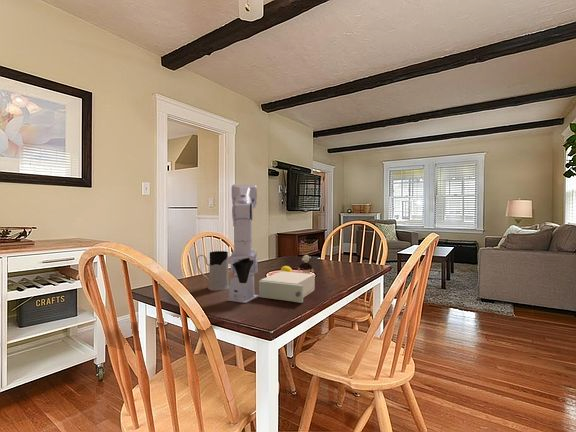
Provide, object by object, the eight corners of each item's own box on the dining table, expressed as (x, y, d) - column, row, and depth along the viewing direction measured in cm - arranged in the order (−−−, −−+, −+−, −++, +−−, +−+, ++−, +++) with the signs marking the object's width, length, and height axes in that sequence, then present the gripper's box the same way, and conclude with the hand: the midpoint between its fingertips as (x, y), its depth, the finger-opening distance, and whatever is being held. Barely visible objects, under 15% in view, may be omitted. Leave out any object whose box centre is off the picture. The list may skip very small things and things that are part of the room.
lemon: (294, 277, 155) (295, 267, 154) (286, 279, 151) (287, 268, 150) (284, 273, 160) (285, 263, 159) (276, 275, 156) (277, 264, 155)
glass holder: (225, 290, 129) (225, 254, 129) (192, 289, 131) (191, 253, 131) (232, 285, 138) (232, 251, 137) (201, 284, 140) (201, 250, 139)
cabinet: (296, 301, 114) (296, 283, 113) (260, 296, 120) (260, 279, 120) (314, 290, 130) (314, 274, 130) (281, 286, 136) (281, 271, 136)
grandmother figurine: (315, 283, 142) (315, 254, 142) (313, 285, 138) (313, 255, 138) (298, 282, 144) (298, 254, 144) (296, 284, 140) (296, 255, 140)
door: (300, 303, 110) (300, 286, 110) (257, 297, 117) (257, 281, 117) (303, 301, 112) (303, 285, 112) (260, 296, 120) (260, 280, 119)
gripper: (240, 243, 94) (240, 289, 95) (264, 239, 107) (264, 279, 108) (221, 242, 97) (221, 286, 98) (247, 238, 110) (247, 277, 111)
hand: (243, 282), depth 103 cm, fingers closed
